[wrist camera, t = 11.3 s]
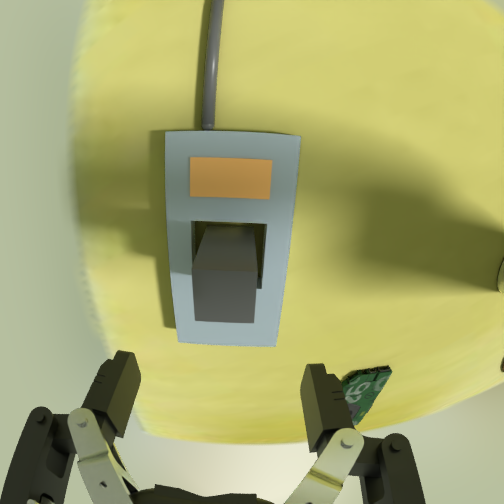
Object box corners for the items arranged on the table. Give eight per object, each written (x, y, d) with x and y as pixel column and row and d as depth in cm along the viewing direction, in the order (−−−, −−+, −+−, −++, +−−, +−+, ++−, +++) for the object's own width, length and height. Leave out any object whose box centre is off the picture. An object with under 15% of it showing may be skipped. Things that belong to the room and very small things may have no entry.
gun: (332, 376, 31) (397, 369, 32) (330, 368, 33) (393, 362, 33) (305, 434, 38) (358, 427, 39) (304, 427, 39) (357, 421, 40)
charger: (253, 226, 24) (257, 271, 17) (251, 267, 26) (253, 323, 18) (207, 225, 24) (191, 269, 16) (207, 266, 25) (194, 320, 18)
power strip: (303, 0, 15) (308, -11, 13) (274, 333, 29) (276, 348, 27) (184, -4, 15) (179, -14, 13) (181, 329, 29) (178, 343, 27)
